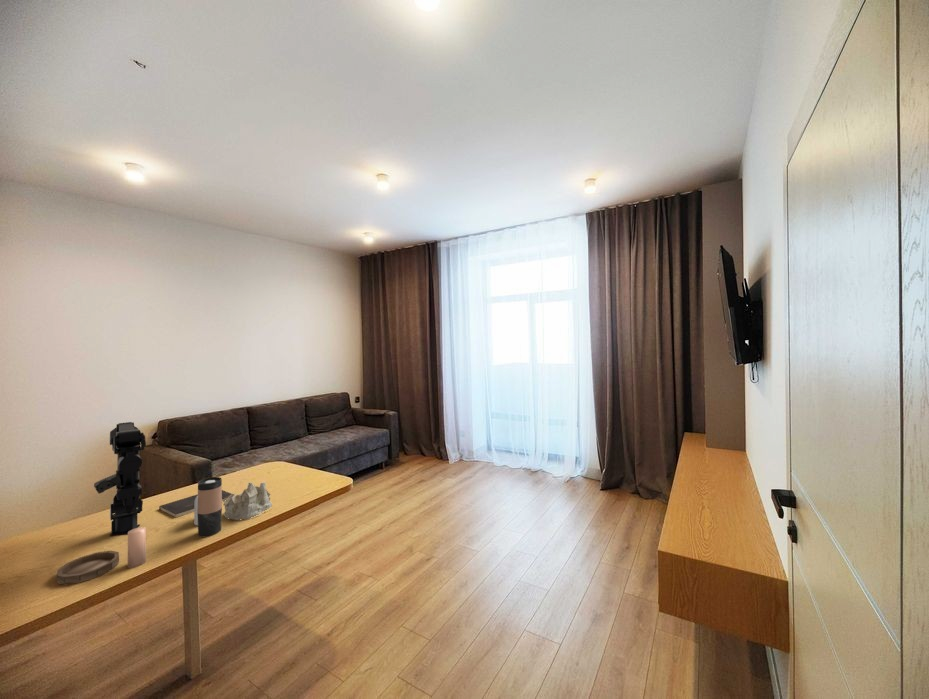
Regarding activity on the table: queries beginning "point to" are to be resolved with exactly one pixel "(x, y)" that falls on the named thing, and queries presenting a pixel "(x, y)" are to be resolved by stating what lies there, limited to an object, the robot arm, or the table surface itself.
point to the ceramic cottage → (248, 502)
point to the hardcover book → (185, 505)
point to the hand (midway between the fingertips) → (128, 509)
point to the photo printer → (196, 511)
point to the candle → (136, 547)
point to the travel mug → (209, 506)
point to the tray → (87, 567)
